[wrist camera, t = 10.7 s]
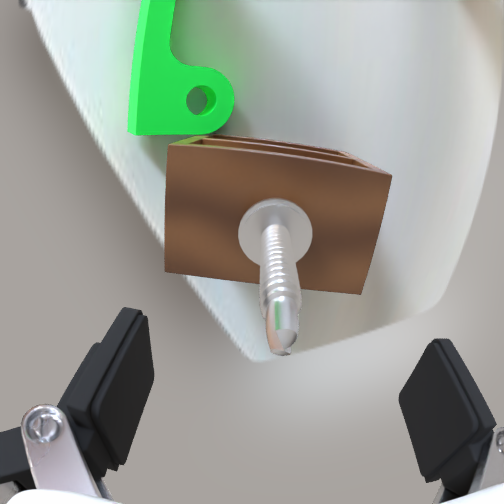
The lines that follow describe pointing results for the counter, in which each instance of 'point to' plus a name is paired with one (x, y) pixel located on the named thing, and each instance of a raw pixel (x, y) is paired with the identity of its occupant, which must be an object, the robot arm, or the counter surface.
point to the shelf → (264, 187)
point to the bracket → (171, 82)
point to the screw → (277, 264)
